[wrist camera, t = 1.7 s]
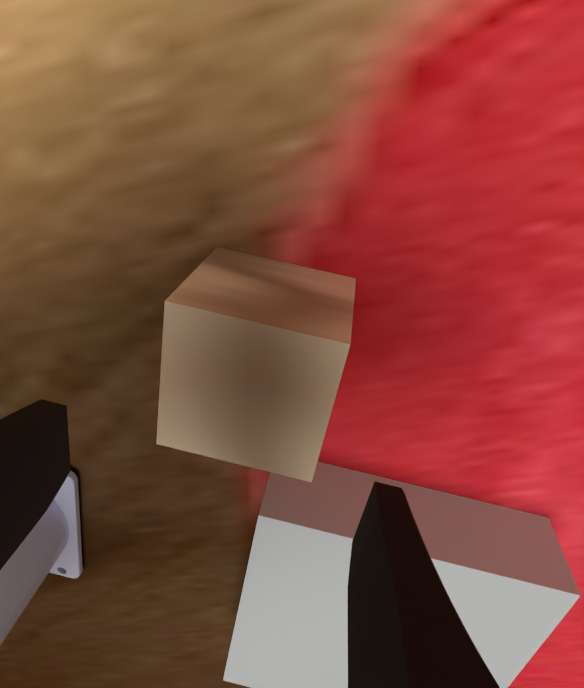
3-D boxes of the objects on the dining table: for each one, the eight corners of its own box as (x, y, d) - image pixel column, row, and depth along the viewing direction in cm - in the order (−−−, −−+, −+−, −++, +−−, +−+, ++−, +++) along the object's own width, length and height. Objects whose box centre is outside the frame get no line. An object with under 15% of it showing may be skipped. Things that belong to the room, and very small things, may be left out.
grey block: (242, 604, 27) (223, 680, 24) (277, 444, 21) (258, 514, 18) (451, 657, 27) (463, 743, 23) (545, 510, 21) (580, 595, 17)
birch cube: (205, 363, 19) (156, 443, 15) (217, 245, 17) (164, 301, 13) (325, 392, 19) (311, 482, 15) (356, 277, 17) (350, 344, 12)
